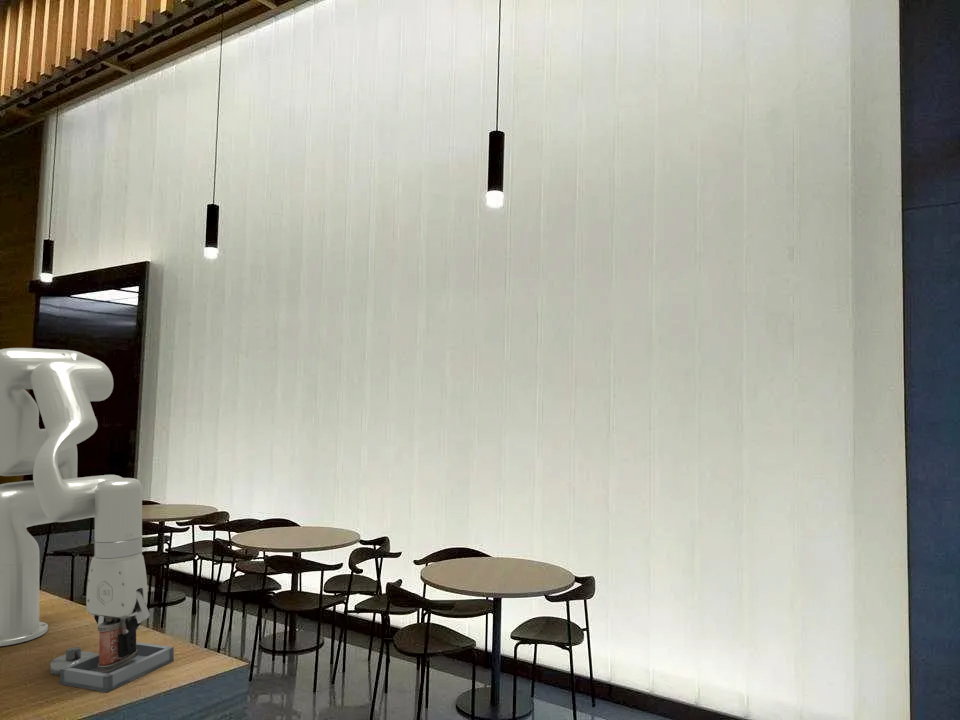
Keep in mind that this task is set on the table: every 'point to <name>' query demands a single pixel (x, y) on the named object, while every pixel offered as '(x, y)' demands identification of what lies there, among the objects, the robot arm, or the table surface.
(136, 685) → the table surface
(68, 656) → the pot lid
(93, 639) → the table surface
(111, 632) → the lighter
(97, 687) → the tray
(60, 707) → the table surface
